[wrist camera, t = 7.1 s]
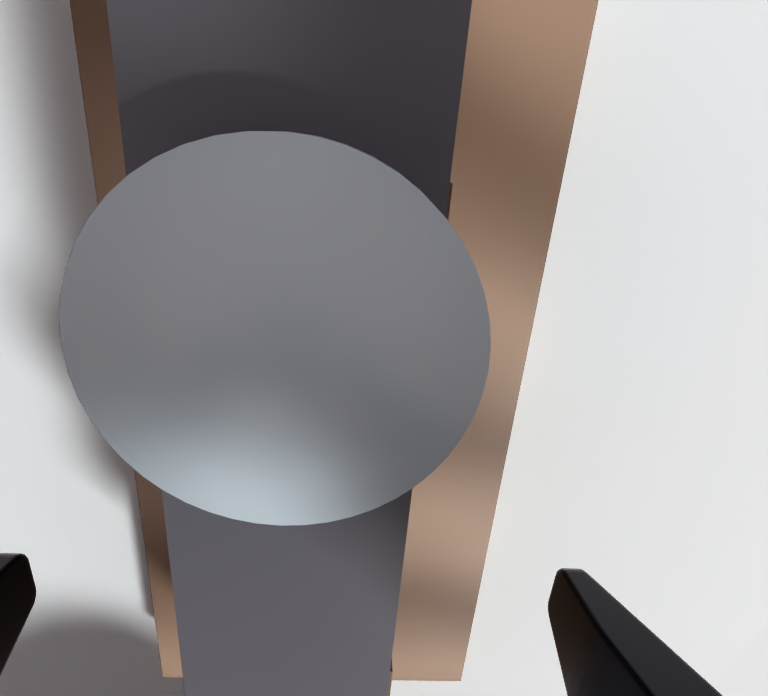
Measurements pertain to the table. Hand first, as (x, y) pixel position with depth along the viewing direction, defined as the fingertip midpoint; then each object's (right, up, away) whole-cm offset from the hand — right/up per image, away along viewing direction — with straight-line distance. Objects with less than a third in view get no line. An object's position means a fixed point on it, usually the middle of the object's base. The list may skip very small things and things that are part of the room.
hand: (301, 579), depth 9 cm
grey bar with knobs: (0, +1, +3) cm, 3 cm away
